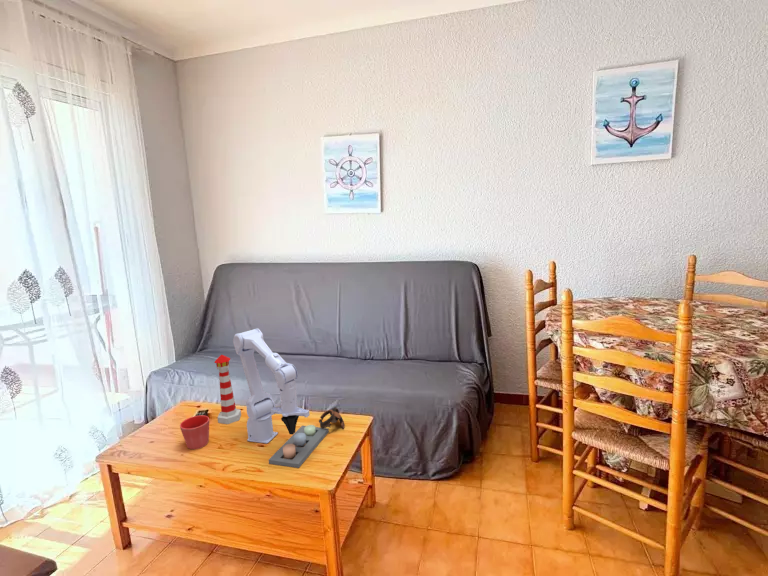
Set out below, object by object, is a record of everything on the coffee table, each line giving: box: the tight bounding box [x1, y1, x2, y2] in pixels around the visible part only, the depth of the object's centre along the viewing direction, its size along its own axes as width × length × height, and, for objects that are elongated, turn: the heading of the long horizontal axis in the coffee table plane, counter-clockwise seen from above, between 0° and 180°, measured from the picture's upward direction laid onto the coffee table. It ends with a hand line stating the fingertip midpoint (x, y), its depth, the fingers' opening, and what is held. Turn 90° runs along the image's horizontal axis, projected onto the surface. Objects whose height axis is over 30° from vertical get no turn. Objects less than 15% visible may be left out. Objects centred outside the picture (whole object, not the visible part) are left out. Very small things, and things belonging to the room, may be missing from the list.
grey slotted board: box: [268, 425, 330, 469], centre depth 158 cm, size 12×25×2 cm, turn 163°
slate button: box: [294, 433, 306, 447], centre depth 158 cm, size 4×4×3 cm
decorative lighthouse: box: [213, 354, 242, 425], centre depth 182 cm, size 10×9×30 cm
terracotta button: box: [283, 444, 296, 459], centre depth 151 cm, size 4×4×3 cm
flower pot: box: [179, 414, 210, 450], centre depth 164 cm, size 11×11×10 cm
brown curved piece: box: [318, 407, 345, 430], centre depth 173 cm, size 12×10×8 cm
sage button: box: [304, 424, 316, 436], centre depth 166 cm, size 4×4×3 cm
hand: (292, 433), depth 152 cm, fingers closed
